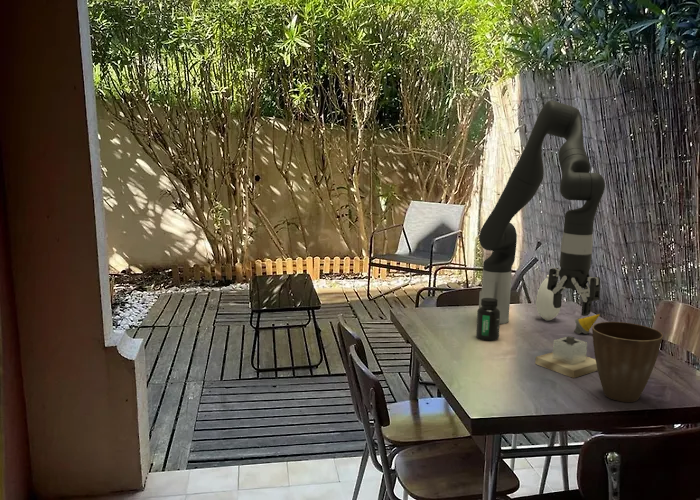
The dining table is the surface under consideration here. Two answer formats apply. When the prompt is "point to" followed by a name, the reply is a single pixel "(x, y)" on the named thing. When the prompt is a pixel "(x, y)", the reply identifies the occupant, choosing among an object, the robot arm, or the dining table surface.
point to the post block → (566, 368)
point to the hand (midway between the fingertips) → (570, 311)
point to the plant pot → (625, 358)
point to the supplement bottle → (488, 320)
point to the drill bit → (585, 324)
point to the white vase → (546, 302)
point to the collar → (569, 351)
